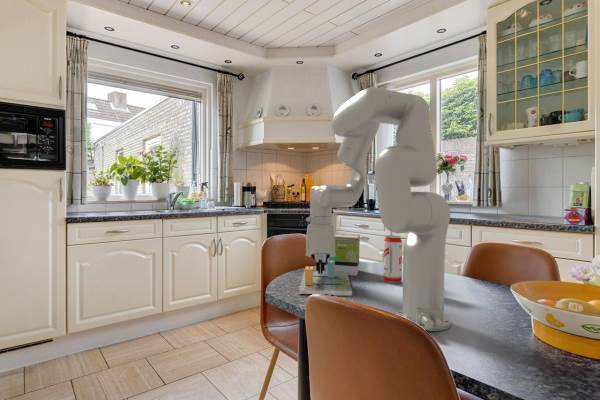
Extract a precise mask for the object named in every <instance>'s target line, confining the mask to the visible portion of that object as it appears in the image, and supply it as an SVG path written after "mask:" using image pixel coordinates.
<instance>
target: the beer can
mask: <svg viewBox="0 0 600 400" xmlns="http://www.w3.org/2000/svg"><path fill="white" fill-rule="evenodd" d="M382 277H383V281H384V282H385V283H387V284H394V285H395V284H400V283H401V282H403V241H402V238H401V236H400V235H393V234H392V235H389V234H388V235H385V238H384V240H383V276H382Z"/></svg>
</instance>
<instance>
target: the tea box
mask: <svg viewBox="0 0 600 400" xmlns="http://www.w3.org/2000/svg"><path fill="white" fill-rule="evenodd" d="M360 241H361V237H360V234H353V233H352V234H351V233H350V234H349V233H336V232H335V253H336V256H334V257H330V258H328V259H327V260H326V261H325V271H323V272H328V261H335V272H347V274H348V276H354V277H357V276H358V272H359V270H360V248H361V246H360ZM318 256H319V259H320V272H321V259H322V257H323V254H318Z"/></svg>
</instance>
